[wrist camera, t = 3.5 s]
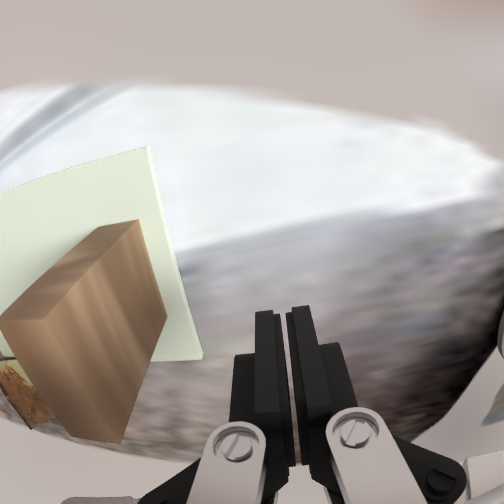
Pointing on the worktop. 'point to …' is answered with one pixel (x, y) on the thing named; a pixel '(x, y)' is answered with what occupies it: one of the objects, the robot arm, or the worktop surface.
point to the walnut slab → (90, 331)
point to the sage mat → (86, 221)
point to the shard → (23, 394)
